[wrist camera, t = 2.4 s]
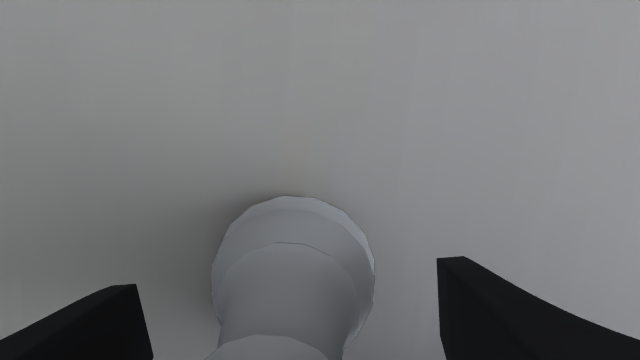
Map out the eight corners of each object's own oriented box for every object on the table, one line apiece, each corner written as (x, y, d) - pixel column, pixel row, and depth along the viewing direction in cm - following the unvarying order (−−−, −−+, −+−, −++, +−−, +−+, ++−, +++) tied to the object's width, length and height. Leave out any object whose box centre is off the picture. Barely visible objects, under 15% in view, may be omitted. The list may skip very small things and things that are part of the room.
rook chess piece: (381, 322, 14) (442, 671, 6) (236, 338, 14) (113, 690, 6) (364, 180, 12) (410, 385, 5) (205, 200, 13) (7, 424, 5)
